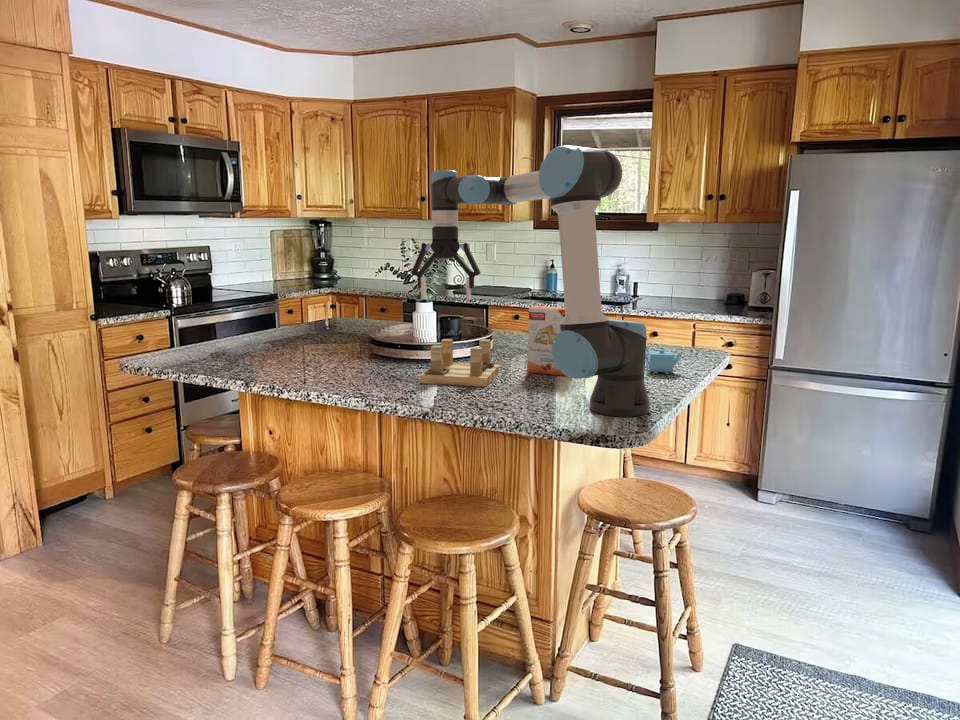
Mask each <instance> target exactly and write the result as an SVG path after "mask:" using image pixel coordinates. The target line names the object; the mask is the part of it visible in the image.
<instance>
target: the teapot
mask: <svg viewBox="0 0 960 720" xmlns="http://www.w3.org/2000/svg"><path fill="white" fill-rule="evenodd" d="M684 354H685V353H683V352H681V353H678V354H677V355H676V356H675V355H674V353H673V351H666V350H665V349H663V348H662V349H661V348H660V349H658V350H650V351H649V352H648V353H646V355H645V362H647V363H645V367H646V368H648V370H649V372H651V373H652V374H653V373H657V374H658V373H663V374H664V373H665V374H664V375H666V374H669V375H670V373H673V372H674V367H675V366H676V365H677V363H678V362H679V359H680V357H681V356H682V355H684ZM648 356H649V357H648Z"/></svg>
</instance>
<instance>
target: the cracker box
mask: <svg viewBox="0 0 960 720" xmlns="http://www.w3.org/2000/svg"><path fill="white" fill-rule="evenodd" d="M565 315H566V314H565V307H560V306H544V305H534V306H530V307H529V308H528V325H527V326H528V327H527V328H528V331H527V332H528V333H527V336H528V338H527V369H526V370H527V373H531V374H541V375H552V376H562V377H563V376H565V377H567V376H566V375H565V374H563V373H562V371H561V370H560V369H558V367H557V366H556V364H555V362H554V359H553V356H552V343H553V341H554V340H555V337H556V336H557V335H558V334H559V333H560V322H561V321H562V320H563V318H564V317H565Z"/></svg>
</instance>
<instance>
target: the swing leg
mask: <svg viewBox="0 0 960 720" xmlns="http://www.w3.org/2000/svg"><path fill="white" fill-rule="evenodd" d="M491 342H492V340H491V339H487V338H486V339H484V338H481V339H480V340H479V342H478V344H479V345H478V347H483V357H482V370H485V369H486V368H487V367H489V363H490V362H491V357H492V356H491V352H492V348H491V347H492V345H491V344H492V343H491Z"/></svg>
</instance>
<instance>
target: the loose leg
mask: <svg viewBox="0 0 960 720" xmlns="http://www.w3.org/2000/svg"><path fill="white" fill-rule="evenodd" d="M430 367H431V372H443V346H441V345H440V344H439V345H435V344H434V345H431V346H430Z"/></svg>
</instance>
